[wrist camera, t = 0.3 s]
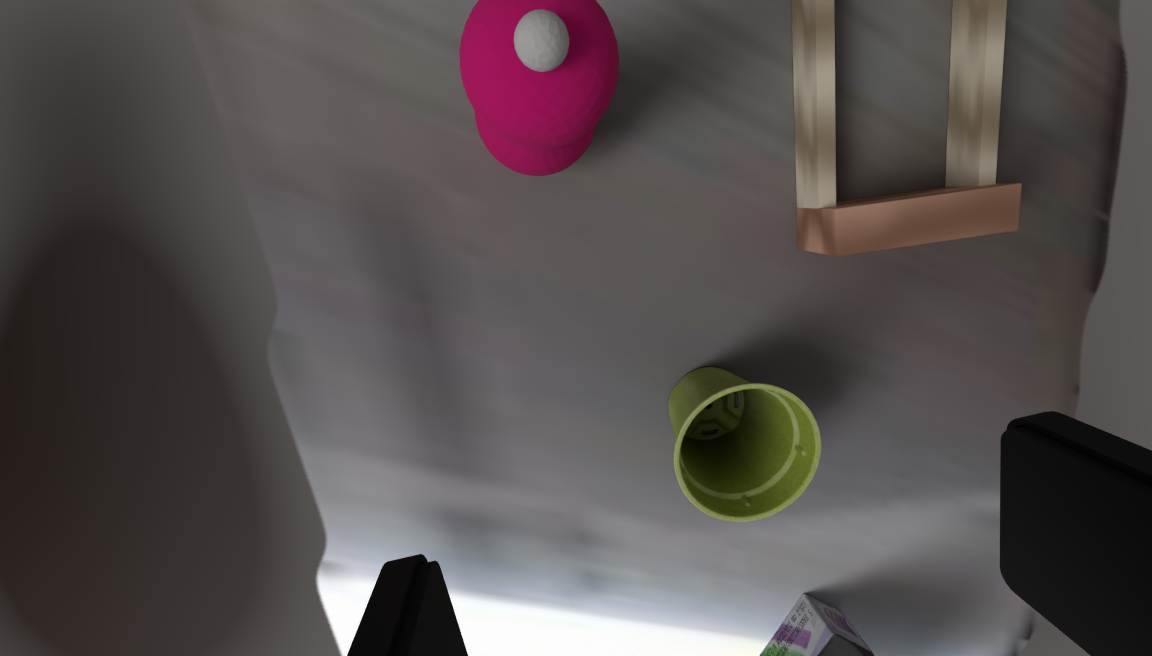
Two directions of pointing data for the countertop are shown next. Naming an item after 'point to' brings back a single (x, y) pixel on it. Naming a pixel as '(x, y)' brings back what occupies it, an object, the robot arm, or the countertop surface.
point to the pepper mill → (538, 79)
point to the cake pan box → (816, 633)
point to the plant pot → (741, 445)
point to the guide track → (970, 143)
